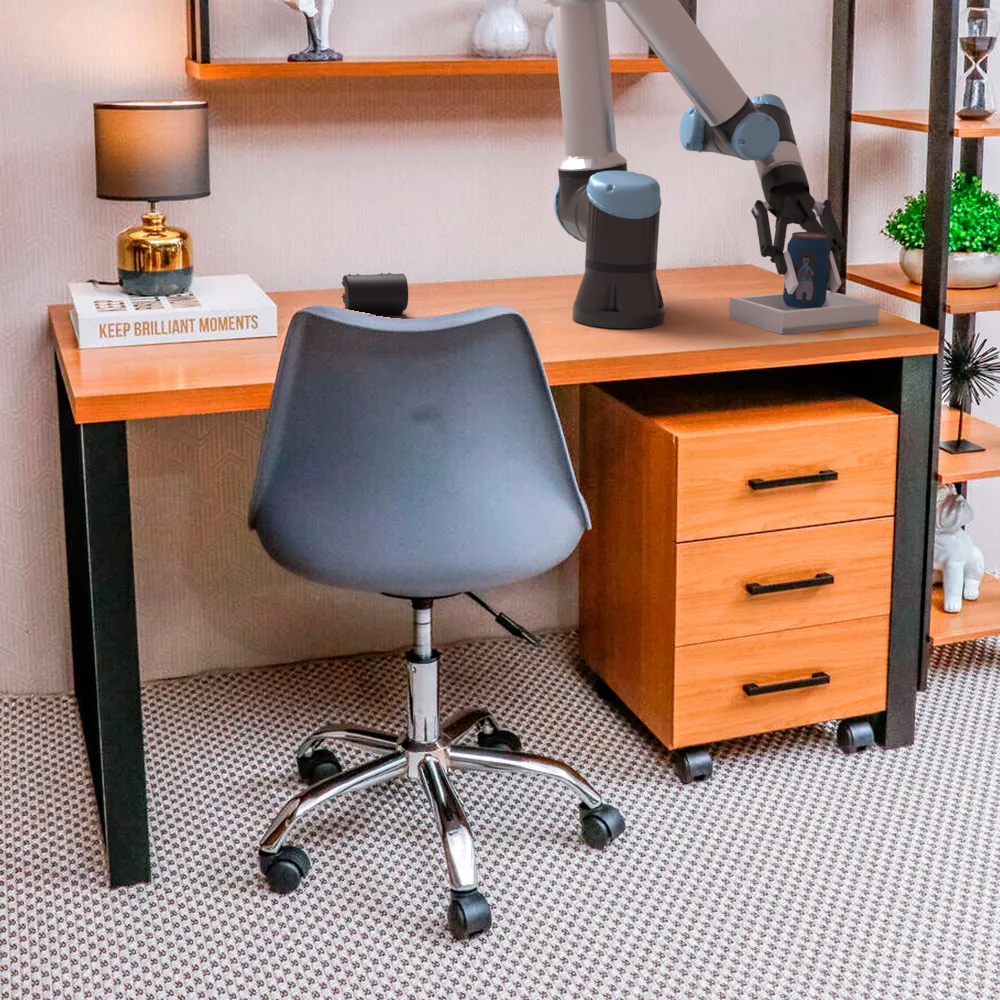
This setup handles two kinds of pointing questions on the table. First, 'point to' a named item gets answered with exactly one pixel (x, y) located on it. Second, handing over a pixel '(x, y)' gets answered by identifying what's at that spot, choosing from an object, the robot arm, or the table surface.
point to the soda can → (808, 270)
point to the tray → (803, 313)
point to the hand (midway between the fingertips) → (814, 288)
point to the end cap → (376, 293)
